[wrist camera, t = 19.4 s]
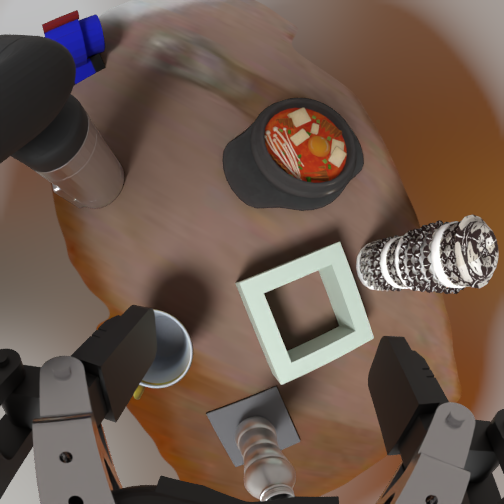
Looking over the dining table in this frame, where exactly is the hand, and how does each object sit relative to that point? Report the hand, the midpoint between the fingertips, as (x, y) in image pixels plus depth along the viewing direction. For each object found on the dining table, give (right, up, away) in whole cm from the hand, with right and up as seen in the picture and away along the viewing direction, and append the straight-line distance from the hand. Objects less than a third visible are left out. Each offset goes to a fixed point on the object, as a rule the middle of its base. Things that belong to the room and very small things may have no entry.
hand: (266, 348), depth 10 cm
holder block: (+7, -6, +37) cm, 38 cm away
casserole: (+7, +19, +40) cm, 45 cm away
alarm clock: (-36, +43, +36) cm, 67 cm away
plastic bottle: (0, -26, +34) cm, 42 cm away
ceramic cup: (-14, -11, +34) cm, 38 cm away
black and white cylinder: (+21, +1, +40) cm, 45 cm away
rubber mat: (0, -26, +34) cm, 42 cm away
